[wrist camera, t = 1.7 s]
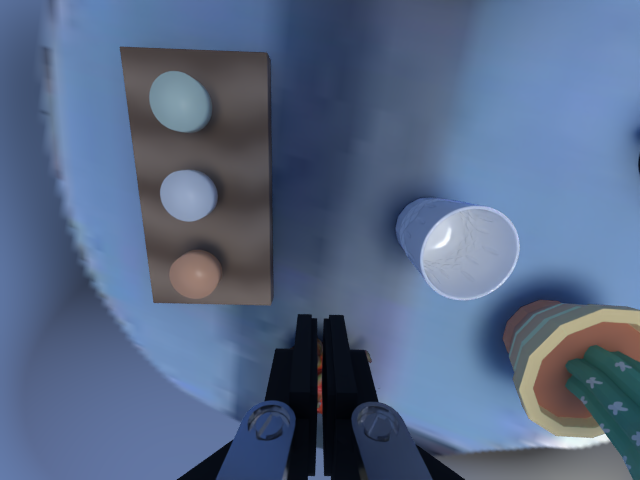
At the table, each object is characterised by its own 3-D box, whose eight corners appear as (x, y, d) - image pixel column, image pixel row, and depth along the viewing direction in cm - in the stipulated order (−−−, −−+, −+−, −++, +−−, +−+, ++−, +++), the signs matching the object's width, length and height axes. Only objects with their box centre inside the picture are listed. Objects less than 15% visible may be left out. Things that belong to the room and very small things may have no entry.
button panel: (133, 54, 28) (119, 46, 26) (270, 59, 28) (267, 52, 26) (162, 294, 35) (153, 302, 33) (273, 297, 35) (270, 305, 33)
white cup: (378, 245, 33) (403, 281, 24) (409, 180, 32) (450, 190, 22) (439, 269, 34) (487, 313, 25) (473, 207, 32) (539, 228, 23)
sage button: (164, 79, 26) (145, 69, 23) (216, 81, 26) (203, 72, 23) (170, 133, 27) (152, 130, 24) (219, 135, 27) (207, 132, 24)
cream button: (173, 168, 28) (157, 169, 25) (221, 169, 28) (210, 171, 25) (178, 214, 29) (163, 220, 26) (223, 215, 29) (213, 222, 26)
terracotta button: (181, 244, 30) (166, 254, 27) (225, 246, 30) (215, 255, 27) (185, 285, 31) (171, 298, 28) (227, 286, 31) (218, 299, 28)
